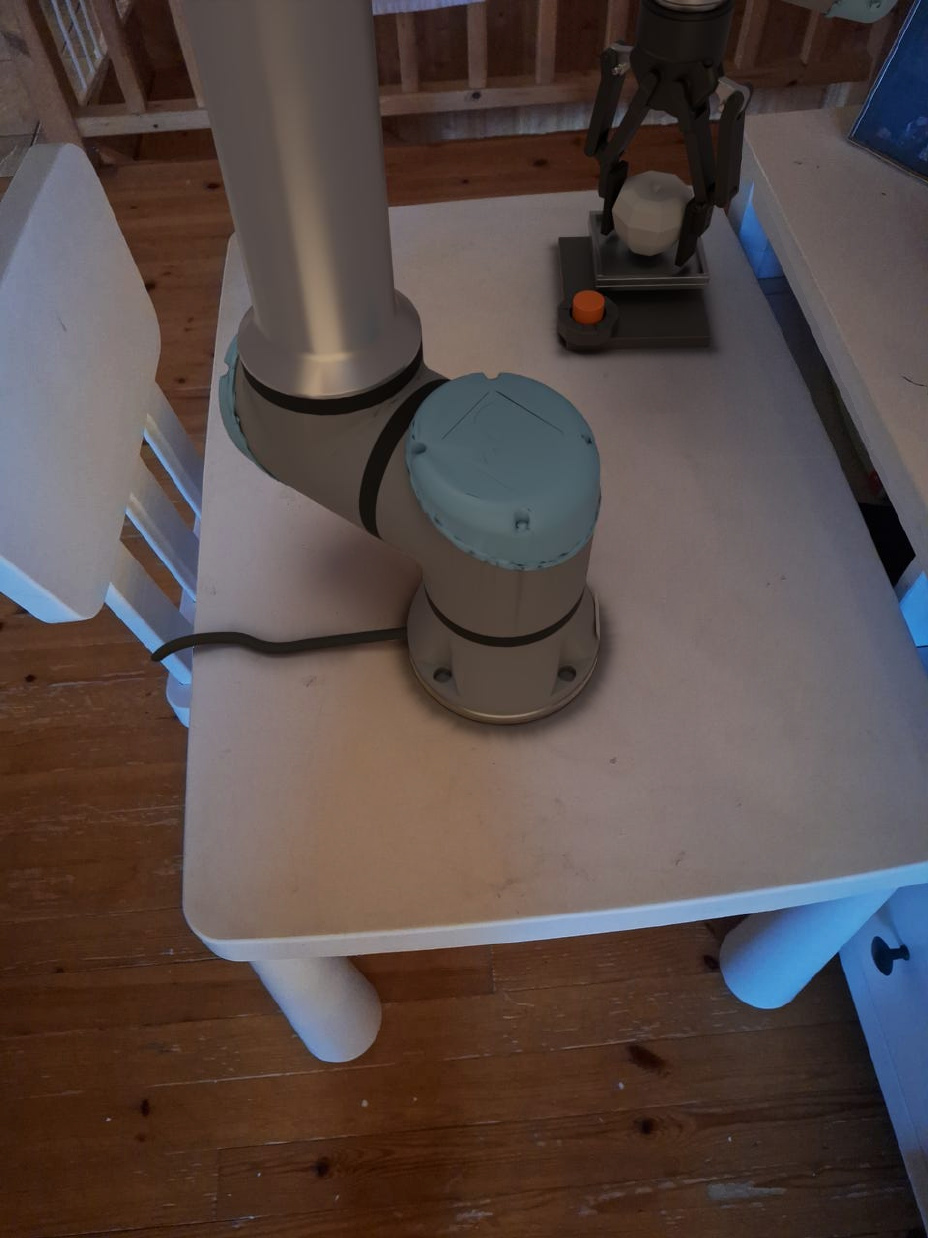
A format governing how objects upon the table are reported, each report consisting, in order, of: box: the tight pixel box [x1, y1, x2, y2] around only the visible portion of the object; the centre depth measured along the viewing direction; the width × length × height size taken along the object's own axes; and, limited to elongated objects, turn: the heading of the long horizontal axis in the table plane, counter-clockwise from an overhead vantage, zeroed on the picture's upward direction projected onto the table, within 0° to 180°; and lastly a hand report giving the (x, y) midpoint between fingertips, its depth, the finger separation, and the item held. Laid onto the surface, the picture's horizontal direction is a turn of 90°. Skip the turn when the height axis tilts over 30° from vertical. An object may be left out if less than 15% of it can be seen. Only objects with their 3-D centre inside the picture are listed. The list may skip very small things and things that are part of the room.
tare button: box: [572, 290, 605, 325], centre depth 87 cm, size 3×3×2 cm
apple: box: [612, 170, 694, 256], centre depth 88 cm, size 8×8×7 cm
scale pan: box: [587, 210, 711, 291], centre depth 92 cm, size 11×11×1 cm
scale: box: [555, 236, 712, 351], centre depth 92 cm, size 15×17×3 cm
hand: (646, 242), depth 91 cm, fingers closed on apple, 8 cm apart
